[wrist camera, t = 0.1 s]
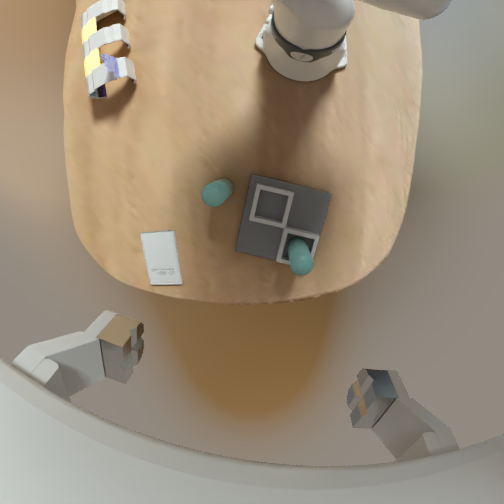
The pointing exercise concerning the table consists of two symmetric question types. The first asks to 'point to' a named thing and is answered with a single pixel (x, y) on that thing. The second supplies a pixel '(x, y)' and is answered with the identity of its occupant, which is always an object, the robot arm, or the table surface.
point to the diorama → (97, 38)
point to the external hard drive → (162, 257)
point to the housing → (282, 222)
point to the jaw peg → (217, 192)
